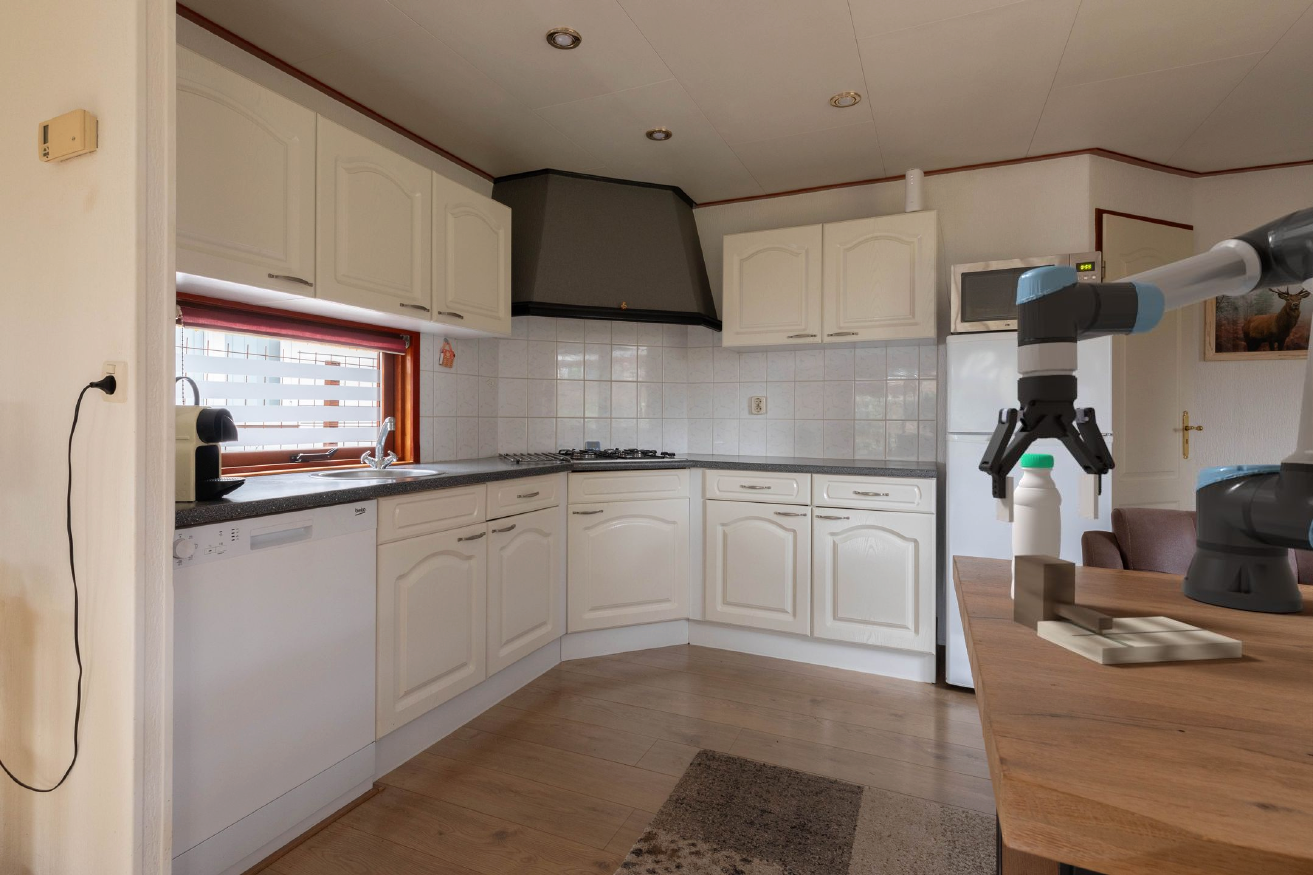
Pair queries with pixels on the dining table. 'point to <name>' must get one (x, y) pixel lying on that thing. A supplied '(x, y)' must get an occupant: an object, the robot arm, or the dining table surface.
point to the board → (1140, 641)
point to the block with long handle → (1050, 594)
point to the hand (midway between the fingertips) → (1047, 519)
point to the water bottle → (1036, 511)
